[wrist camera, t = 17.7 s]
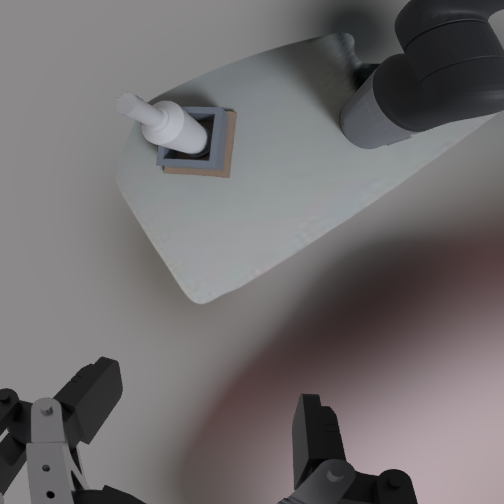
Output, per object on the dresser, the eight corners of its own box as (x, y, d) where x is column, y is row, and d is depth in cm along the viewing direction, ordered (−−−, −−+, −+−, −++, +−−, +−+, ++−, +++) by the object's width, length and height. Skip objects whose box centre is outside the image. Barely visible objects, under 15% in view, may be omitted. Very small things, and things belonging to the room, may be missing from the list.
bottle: (199, 121, 44) (129, 65, 19) (221, 141, 44) (165, 96, 20) (178, 144, 45) (91, 111, 20) (199, 164, 45) (123, 144, 21)
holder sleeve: (236, 113, 44) (230, 101, 37) (229, 177, 46) (221, 176, 40) (173, 111, 44) (158, 101, 38) (166, 173, 47) (149, 171, 40)
